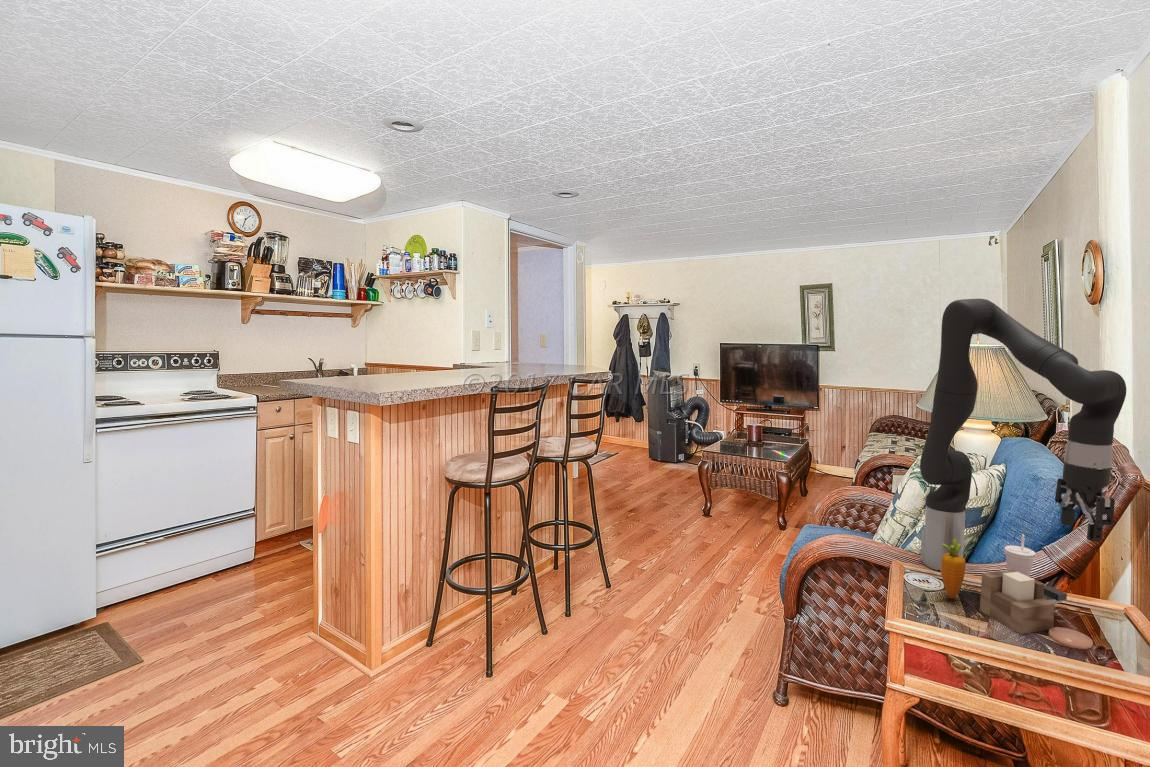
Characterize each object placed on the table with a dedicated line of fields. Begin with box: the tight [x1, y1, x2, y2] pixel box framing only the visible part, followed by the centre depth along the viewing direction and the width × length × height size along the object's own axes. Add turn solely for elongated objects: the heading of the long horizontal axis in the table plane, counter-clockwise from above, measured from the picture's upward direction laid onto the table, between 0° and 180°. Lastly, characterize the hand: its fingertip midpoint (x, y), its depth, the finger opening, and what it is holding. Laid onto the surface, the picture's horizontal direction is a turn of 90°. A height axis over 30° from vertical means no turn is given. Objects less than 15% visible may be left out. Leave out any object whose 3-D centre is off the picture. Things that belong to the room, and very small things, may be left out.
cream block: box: [1002, 572, 1036, 602], centre depth 124 cm, size 4×4×6 cm
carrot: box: [940, 539, 967, 600], centre depth 134 cm, size 5×5×15 cm
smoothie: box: [1003, 533, 1037, 578], centre depth 139 cm, size 6×6×14 cm
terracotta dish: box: [1048, 626, 1094, 650], centre depth 116 cm, size 7×7×1 cm
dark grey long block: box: [1043, 585, 1068, 604], centre depth 125 cm, size 13×4×3 cm, turn 100°
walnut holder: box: [979, 569, 1056, 635], centre depth 124 cm, size 10×10×10 cm
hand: (1079, 532), depth 119 cm, fingers open, 8 cm apart
